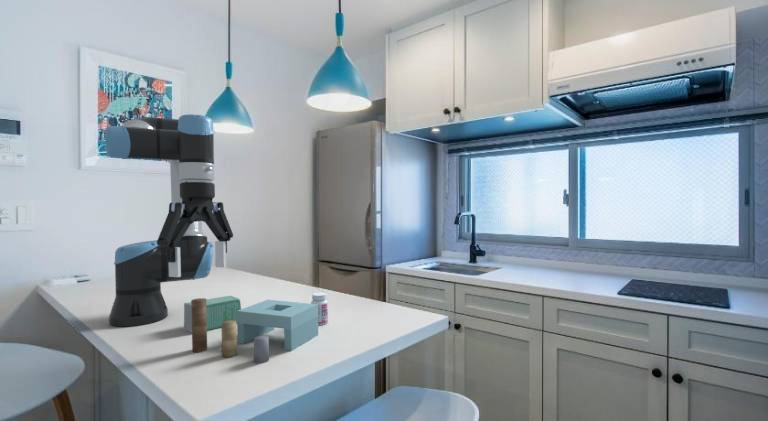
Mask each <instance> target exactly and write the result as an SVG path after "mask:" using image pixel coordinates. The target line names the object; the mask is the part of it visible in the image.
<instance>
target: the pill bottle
mask: <svg viewBox="0 0 768 421" xmlns="http://www.w3.org/2000/svg"><path fill="white" fill-rule="evenodd" d="M311 299H312V300H311V302H310V304H318V326H324V325H326V324H328V323H329V322H328V321H329V319H328V318H329V313H328V312H329V311H328V310H329V309H328V307H329V306H328V305H329V302H328V300H327V292H326V293H325V292H314V293H312V295H311Z"/></svg>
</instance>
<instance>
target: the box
mask: <svg viewBox="0 0 768 421" xmlns="http://www.w3.org/2000/svg"><path fill="white" fill-rule="evenodd" d="M205 299H206V298H205ZM241 309H242V306H241V299H240V298H238V297H235V296H232V295H226V296H219V297H213V298H207V299H206V314H207V331H211V330H214V329H219V328H221V323H222V322H225V321H236V325H237V311H238V310H241ZM183 313H184V314H183V328H184V330H186V332H189V333H191V334H192V310H191V301H189V302H184V303H183Z"/></svg>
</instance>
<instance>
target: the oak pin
mask: <svg viewBox="0 0 768 421" xmlns="http://www.w3.org/2000/svg"><path fill="white" fill-rule="evenodd" d="M220 328H221V329H220V330H221V356H222V357H221V358H224V359H225V358H226V359H228V358H229V359H230V358H234V357H236V356H237V355H238V339H237V324H236V321H225V322H222V323H221V327H220Z"/></svg>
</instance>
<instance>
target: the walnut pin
mask: <svg viewBox="0 0 768 421" xmlns="http://www.w3.org/2000/svg"><path fill="white" fill-rule="evenodd" d="M190 302H191V310H192V333H191V340H192V341H191V342H192V343H191V345H192V346H191V348H192V349H191V350H192V352H193V353H195V354H196V353H197V354H198V353H203V352H206V351H208V330H207V314H206V298H205V297H203V298H200V297H199V298H193V299H191V301H190Z"/></svg>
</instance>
